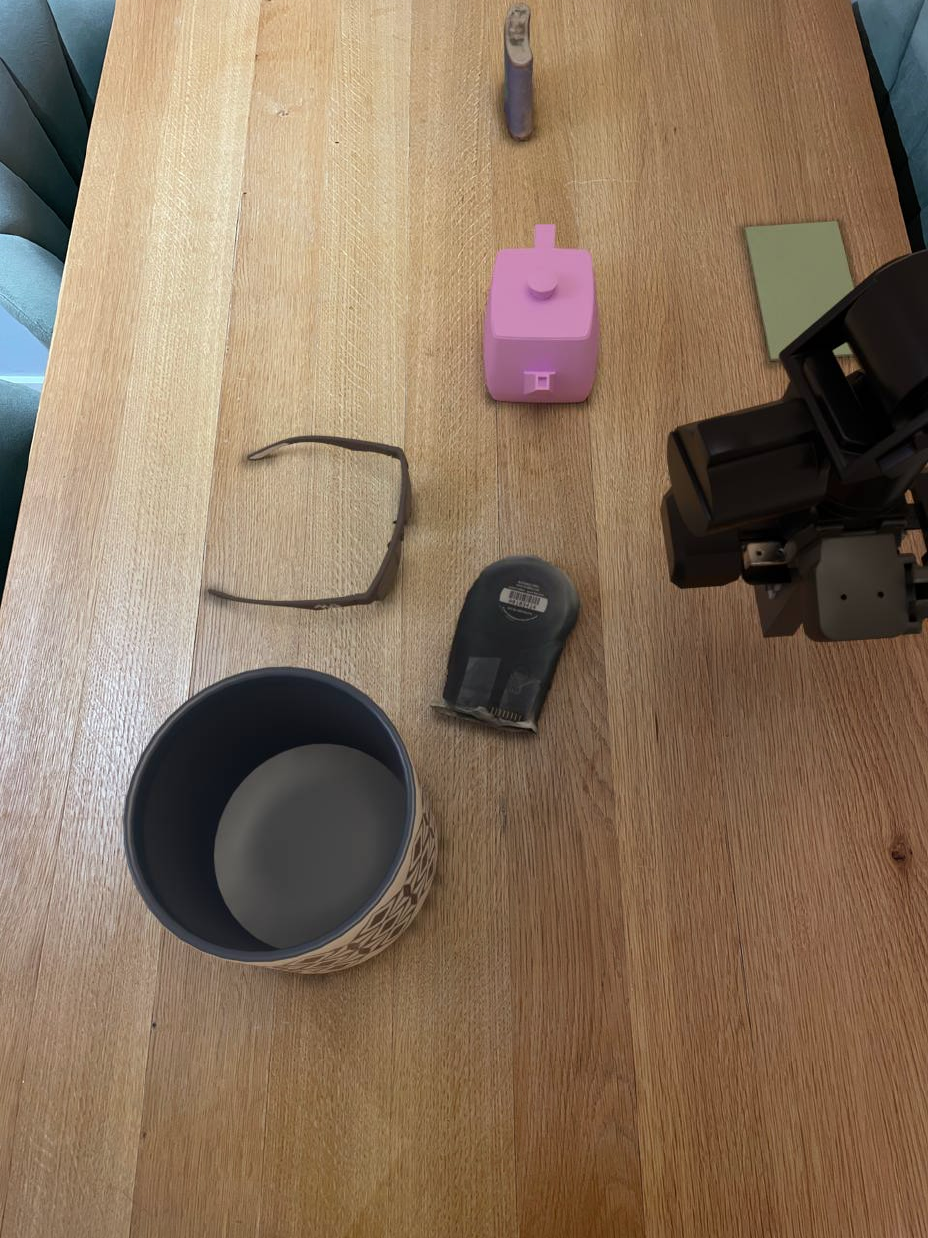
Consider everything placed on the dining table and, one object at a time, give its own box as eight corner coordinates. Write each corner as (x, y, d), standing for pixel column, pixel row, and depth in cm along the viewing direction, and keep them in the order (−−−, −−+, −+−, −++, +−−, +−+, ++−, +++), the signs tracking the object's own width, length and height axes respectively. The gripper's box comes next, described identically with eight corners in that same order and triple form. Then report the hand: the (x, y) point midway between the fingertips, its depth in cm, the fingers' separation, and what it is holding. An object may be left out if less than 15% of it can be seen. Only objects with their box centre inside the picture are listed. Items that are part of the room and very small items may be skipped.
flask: (532, 141, 100) (534, 45, 90) (505, 142, 100) (503, 47, 90) (529, 80, 103) (530, -19, 93) (502, 81, 103) (500, -17, 94)
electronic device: (548, 746, 76) (592, 573, 79) (538, 734, 71) (585, 550, 74) (440, 720, 79) (487, 554, 82) (423, 706, 73) (473, 530, 77)
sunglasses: (396, 633, 79) (381, 609, 74) (212, 616, 82) (188, 592, 78) (431, 465, 85) (420, 433, 80) (259, 455, 88) (239, 424, 84)
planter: (205, 746, 76) (127, 680, 61) (429, 722, 76) (406, 650, 61) (202, 986, 69) (113, 979, 54) (449, 961, 69) (429, 947, 54)
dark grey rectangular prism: (782, 580, 70) (823, 515, 61) (793, 636, 68) (837, 578, 59) (748, 582, 70) (784, 517, 61) (758, 638, 68) (797, 580, 59)
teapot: (595, 441, 85) (605, 369, 76) (479, 438, 86) (474, 368, 76) (597, 284, 92) (606, 201, 82) (489, 283, 93) (485, 200, 83)
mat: (744, 229, 94) (745, 226, 93) (836, 223, 93) (837, 220, 93) (770, 361, 87) (771, 358, 87) (868, 355, 87) (869, 352, 87)
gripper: (706, 612, 48) (666, 703, 62) (1082, 586, 47) (953, 684, 62) (677, 427, 52) (645, 553, 67) (1021, 400, 51) (914, 533, 66)
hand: (787, 583), depth 65 cm, fingers closed on dark grey rectangular prism, 2 cm apart
